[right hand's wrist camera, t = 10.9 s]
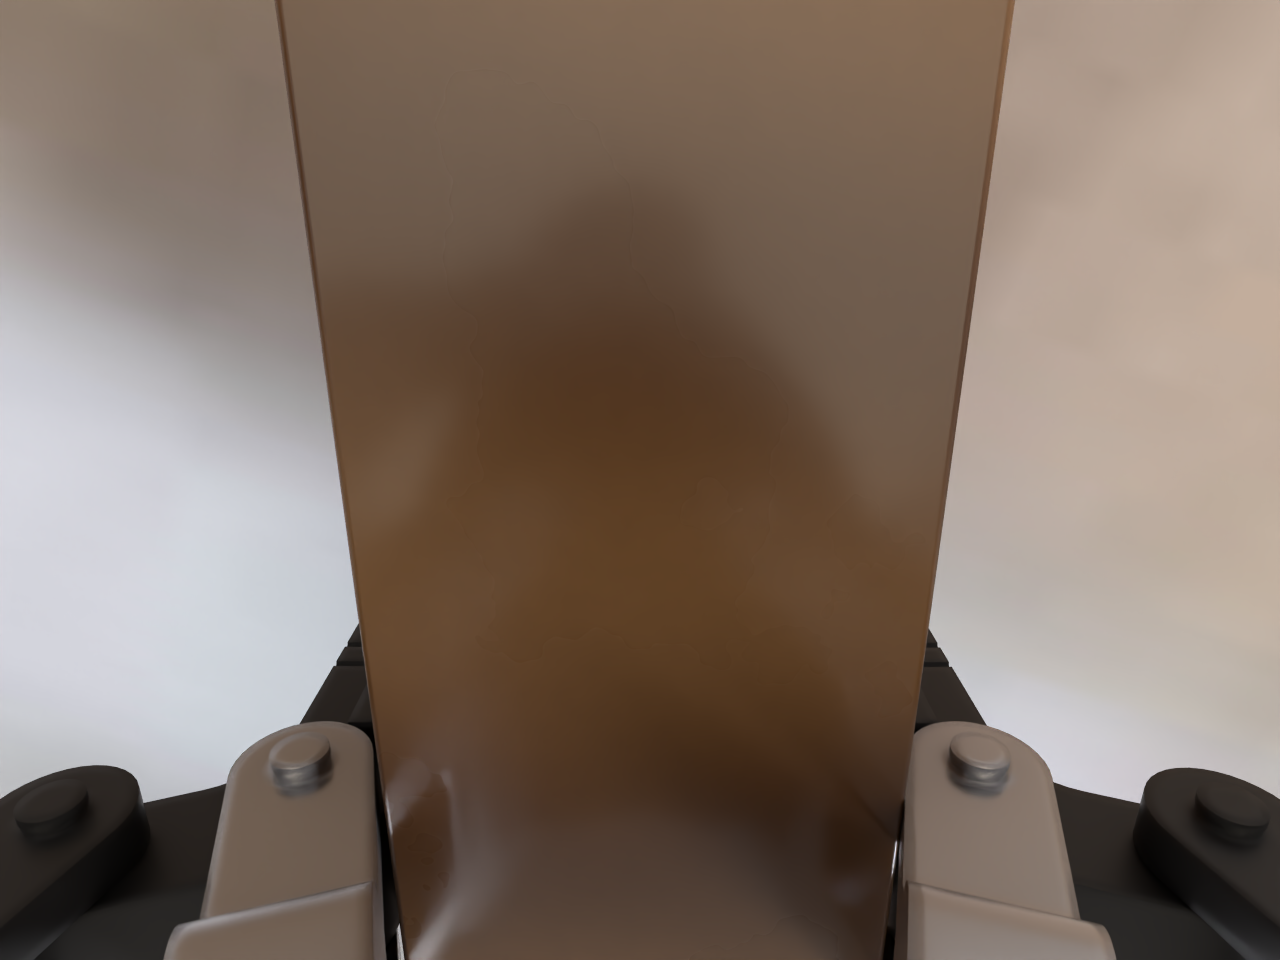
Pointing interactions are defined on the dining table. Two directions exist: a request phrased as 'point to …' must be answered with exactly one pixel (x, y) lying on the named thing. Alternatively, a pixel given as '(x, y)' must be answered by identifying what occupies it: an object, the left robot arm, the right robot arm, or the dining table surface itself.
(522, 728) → the beam
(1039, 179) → the dining table surface
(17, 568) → the dining table surface
